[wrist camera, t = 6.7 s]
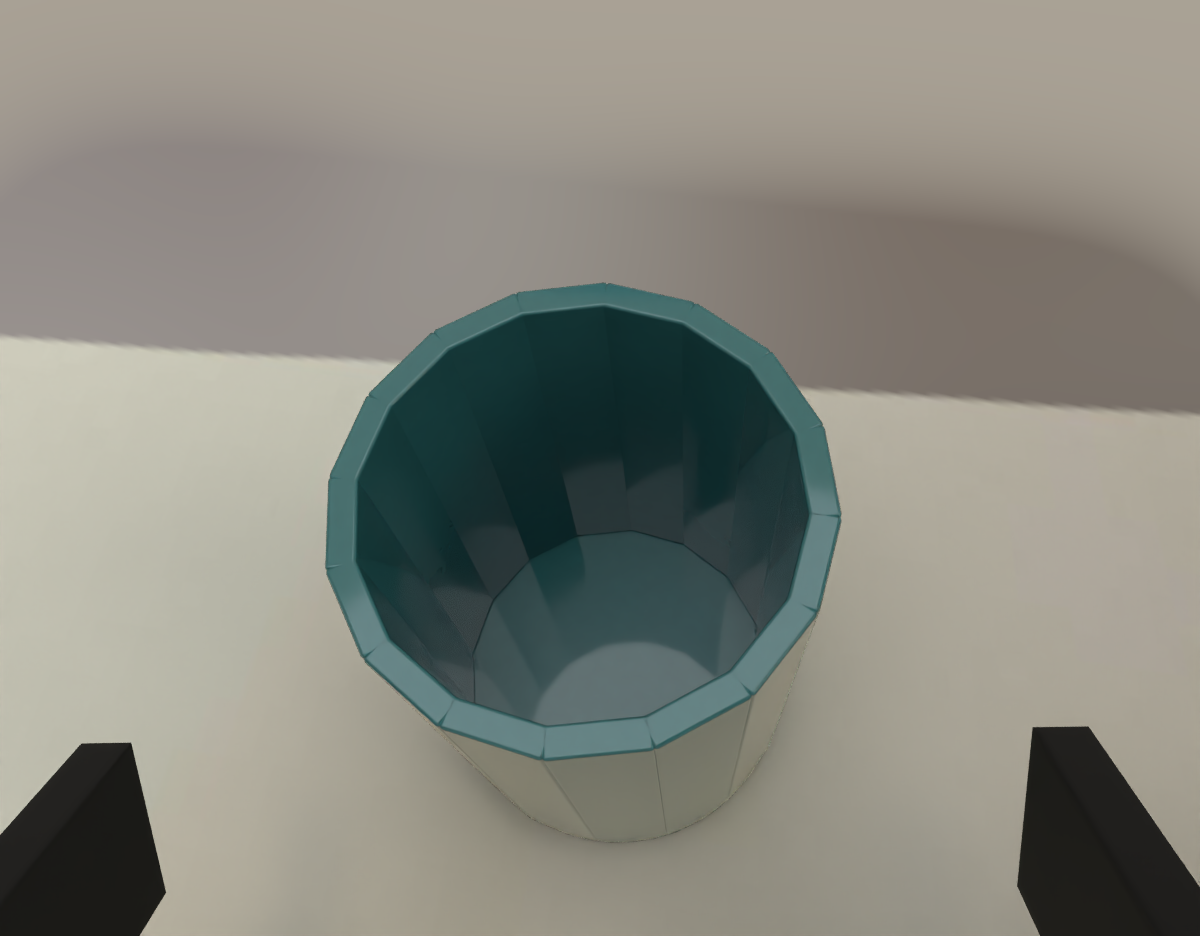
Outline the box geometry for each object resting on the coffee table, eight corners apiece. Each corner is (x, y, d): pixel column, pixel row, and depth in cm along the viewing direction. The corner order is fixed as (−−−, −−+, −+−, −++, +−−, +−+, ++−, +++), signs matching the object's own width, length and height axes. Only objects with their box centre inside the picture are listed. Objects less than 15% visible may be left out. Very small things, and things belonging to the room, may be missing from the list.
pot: (812, 572, 27) (885, 342, 17) (732, 889, 24) (765, 832, 14) (522, 494, 29) (436, 243, 19) (412, 782, 26) (239, 664, 16)
